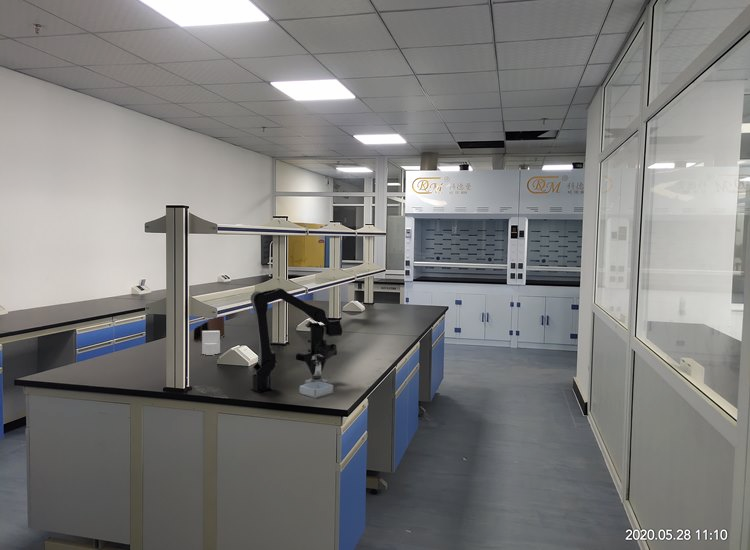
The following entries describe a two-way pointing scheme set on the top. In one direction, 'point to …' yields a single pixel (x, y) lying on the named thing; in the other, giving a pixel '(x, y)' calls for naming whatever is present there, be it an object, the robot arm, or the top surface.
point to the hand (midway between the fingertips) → (316, 374)
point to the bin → (316, 389)
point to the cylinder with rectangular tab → (210, 342)
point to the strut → (317, 370)
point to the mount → (316, 380)
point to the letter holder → (209, 327)
